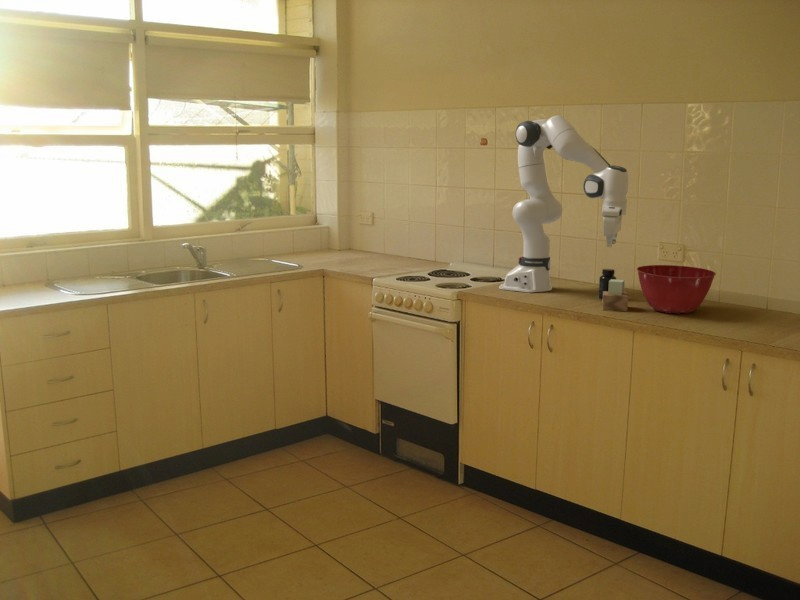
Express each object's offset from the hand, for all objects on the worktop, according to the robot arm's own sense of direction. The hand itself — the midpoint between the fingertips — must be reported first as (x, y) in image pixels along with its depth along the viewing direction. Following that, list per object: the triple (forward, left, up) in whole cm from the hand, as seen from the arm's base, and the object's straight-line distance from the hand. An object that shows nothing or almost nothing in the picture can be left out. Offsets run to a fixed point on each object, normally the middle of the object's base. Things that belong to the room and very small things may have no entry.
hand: (611, 245), depth 315 cm
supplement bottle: (-3, +16, -24) cm, 29 cm away
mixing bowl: (+24, +2, -24) cm, 34 cm away
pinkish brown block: (+3, -3, -24) cm, 24 cm away
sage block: (+3, -2, -18) cm, 19 cm away
